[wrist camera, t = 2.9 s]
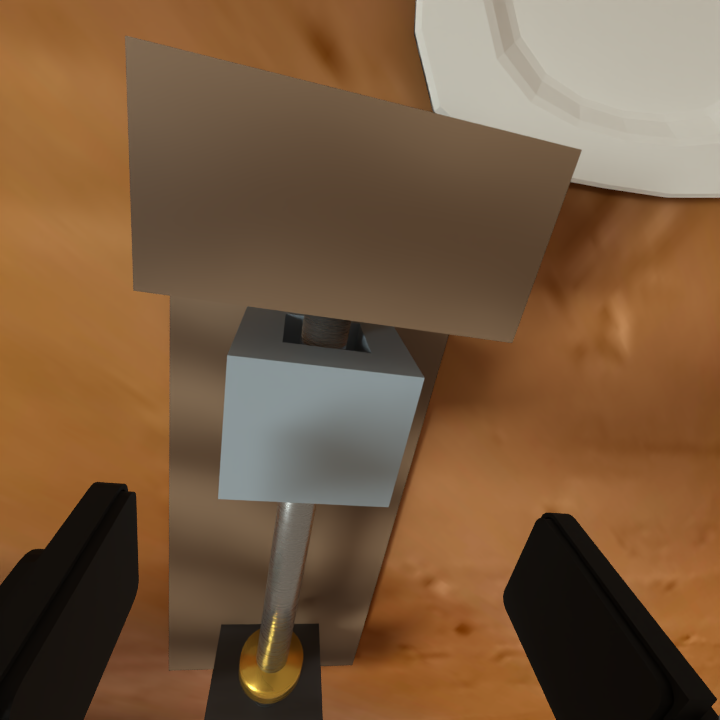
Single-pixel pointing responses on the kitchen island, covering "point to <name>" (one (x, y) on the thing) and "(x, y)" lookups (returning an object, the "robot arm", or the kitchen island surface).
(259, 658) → the metal rod
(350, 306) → the slide base
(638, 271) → the kitchen island surface
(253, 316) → the grey sliding block
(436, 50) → the plate
